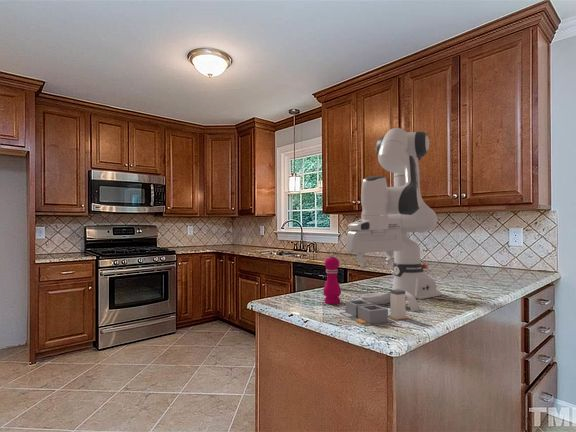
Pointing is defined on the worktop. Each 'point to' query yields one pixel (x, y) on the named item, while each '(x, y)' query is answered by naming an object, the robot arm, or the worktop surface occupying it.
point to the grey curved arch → (385, 298)
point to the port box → (366, 313)
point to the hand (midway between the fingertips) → (375, 265)
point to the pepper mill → (332, 281)
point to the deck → (399, 319)
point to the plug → (397, 304)
